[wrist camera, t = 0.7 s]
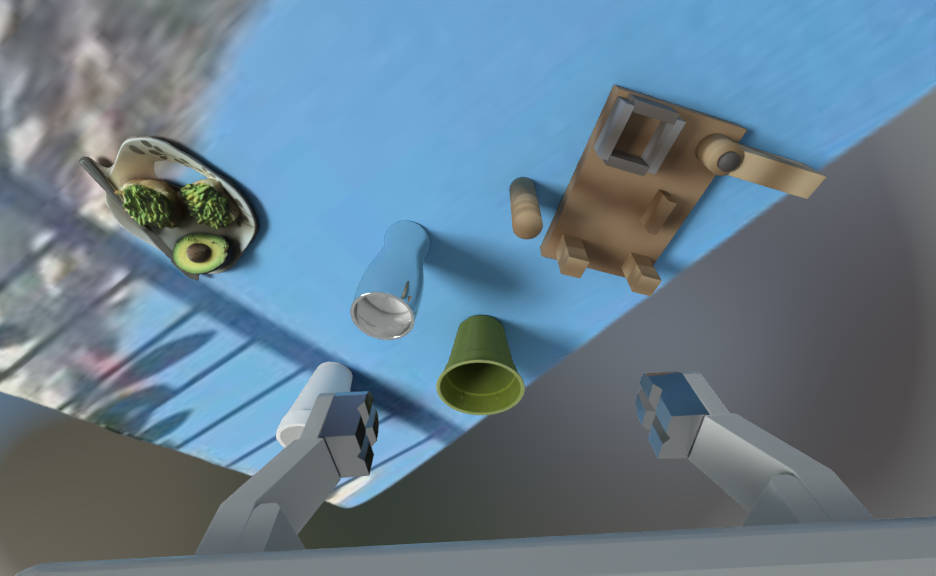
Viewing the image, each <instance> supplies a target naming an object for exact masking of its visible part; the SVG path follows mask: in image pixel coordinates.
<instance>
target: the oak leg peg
mask: <svg viewBox="0 0 936 576" xmlns="http://www.w3.org/2000/svg"><path fill="white" fill-rule="evenodd" d="M510 202H511V214H512V226H513V231H514V233H515V234H516V236H518V237H519V238H522V239H532V238H534V237H536V236H537V235H539V234H540V232H541V230H542V227H543V223H542V218H541V213H540V209H539V204H538V199H537V194H536V190H535V185H534V183H533V181H532V180H531V179H529V178H527V177H519V178H517V179H515V180H514V181H513V182H512V183H511V185H510Z"/></svg>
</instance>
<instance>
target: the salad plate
mask: <svg viewBox="0 0 936 576" xmlns="http://www.w3.org/2000/svg"><path fill="white" fill-rule="evenodd" d="M155 161H170V162H177V163H180V164H183V165H185V166H187V167H190V168H192V169H194V170H195V171H197V172H199V173H201V174H202V175H204V176H206V177H207V178H208V179H202V180H199V181H196V182H193V183H192V184H186V186H185V187H180V186H175V185H172V184H169V183H168V182H167V181H166V180H165V179H162V178H158V177H157V176H156V175H155V173H154V162H155ZM79 163H80V164H81V165H82V167H83V168H84V169H85V170H86V171H87V172H88V173H89V174H90V175H91V176H92V178H94V180H95V181H96V182H97V183H98V184H99V185H100V186H101V187H102V188H103V189H104V190H105V198H106V203H107V205H108V207H109V209H110V211H111V213H112V214H113V216H114V218H115V219H116V221H117V222H118V223H119V224H120V225H121V226H122V227H123V228H124V229H126V230H127V231H129V232H130V233H132V234H133V235H135V236H136V237H138V238H140V239H141V240H143V241H145V242H146V243H148V244H150V245H152V246H154V247H155V248H157V249H159V250H160V251H162V252H164V253H165V254H166V256H167V257H169V258H170V259H171V262H172V263H173V264H174V265H175V266H176V267H177V268H178V269H179V270H180V271H182V272H183V273H184V274H185V275H186V276H188V277H189V278H191V279H195V280H199V275H200V274H206V273H207V274H216V273H221V272H224V271H226V270H228V269H230V268H231V267H232V266H233V265H234V264H235V263H236V262H237V261H238V259H239V258H240V257H241V256H242V254H243V253H244V251H245V250H246V248H247V247H248V246H249V244H250V243H251V242H252V241H253V240H254V239H255V237H256V235H257V233H258V231H259V222H258V219H257V215H256V213H255V210H254V208H253V206H252V204H251V203H250V201H249V200H248V198H247V197H246V196H245V194H244V193H243V192H242V191H241V190H239V188H238V187H237V186H236V185H235V184H234V183H233V182H231V181H230V180H229V179H228V178H226V177H224V176H223V175H220V174H218V173H216V172H215V171H213V170H211V169H210V168H208V167H207V166H206V165H204V164H203V163H202V162H200V161H199V160H197V159H196V158H194V157H192V156H191V155H189V154H187V153H185V152H183V151H181V150H179V149H178V148H176V147H174V146H172V145H171V144H170V143H168V142H166V141H164V140H161V139H157V138H153V137H149V136H138V137H128V138H127V139H126V140H125V141H124V142H123V144H122V146H121V148H120V150H119V153H118V155H117V158H116V161H115V163H114V164H113V165H112V166H111V167H110V168H109V167H104V166H102V165H100V164H98V163H97V162H95V161H94V160H93V159H91V158H89V157H82V158H80V159H79Z"/></svg>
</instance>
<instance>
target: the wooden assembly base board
mask: <svg viewBox="0 0 936 576" xmlns="http://www.w3.org/2000/svg"><path fill="white" fill-rule="evenodd" d="M746 131H747V129H745V128H743V127H742V126H740V125H738V124H736V123H733V122H729V121H726V120H723V119H720V118H717V117H714V116H711V115H708V114H704V113H701V112H698V111H695V110H692V109H689V108H686V107H683V106H680V105H676V104H673V103H670V102H667V101H664V100H661V99H658V98H655V97H652V96H648V95H645V94H642V93H639V92H636V91H633V90H630V89H627V88H623V87H620V86H617V85H614V86H613V88H612V90H611V92H610V94H609V97H608V99H607V101H606V103H605V105H604V108H603V110H602V112H601V114H600V116H599V119H598V121H597V123H596V125H595V128H594V130H593V132H592V134H591V136H590V139H589V141H588V143H587V145H586V147H585V150H584V152H583V154H582V156H581V158H580V161H579V163H578V165H577V167H576V169H575V172H574V174H573V176H572V178H571V181H570V183H569V185H568V187H567V189H566V192H565V194H564V196H563V198H562V200H561V203H560V205H559V207H558V209H557V211H556V214H555V216H554V218H553V220H552V222H551V225H550V227H549V229H548V231H547V234H546V236H545V238H544V240H543V242H542V245H541V247H540V250H541V255H542V256H544V257H547V258H551V259H555V260H558V264H559V268H560V272H561V274H564V275H568V276H572V277H576V278H581V276H582V274H583V272H584V271H585V269H586V268H590V269H594V270H598V271H602V272H606V273H610V274H614V275H618V276H622V277H625V278H626V279H627V282H628V284H629V286H630V288H631V290H632V292H636V293H640V294H644V295H648V296H651V295H652V293H653V292H654V291H655V289H656V288H657V287H658V285H659V284H660V283H661V281H662V280H661V279H660V277H659V275H658V273H657V272H656V270H655V268H654V266H653V265H654V264H655V262H656V261H657V259H658V258H659V256H660V255H661V253H662V252H663V251H664V249H665V248H666V246H667V245H668V243H669V242H670V240H671V239H672V238H673V236H674V235H675V233H676V232H677V230H678V229H679V227H680V226H681V225H682V223H683V222H684V220H685V219H686V217H687V216H688V214H689V213H690V212H691V210H692V209H693V207H694V206H695V204H696V203H697V201H698V200H699V199H700V197H701V196H702V194H703V193H704V191H705V190H706V188H707V187H708V186H709V184H710V183H711V181H712V180H713V178H714V177H715V176H716V175H715V174H714V173H713V172H711V171H710V170H709V169H708V168H707V167H706V166H704V165H703V164H702V163H701V162H700V161H699V160H698V159H697V158H696V156H695V150H696V147H697V145H698V144H699V142H700V141H701V140H702V139H703V138H704V137H706V136H708V135H710V134H714V133H719V134H722V135H724V136H725V137H727V138H728V139H730V140H731V141H733V142H737V143H738V142H739V141H740V139H741V138H742V137H743V135H744V134H745V132H746Z"/></svg>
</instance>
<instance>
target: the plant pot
mask: <svg viewBox="0 0 936 576" xmlns="http://www.w3.org/2000/svg"><path fill="white" fill-rule="evenodd" d="M436 389H437V393H438V395H439V397H440V398H441V400H442V401H443V402H444V403H445V404H446V405H448V406H449V407H451V408H453V409H455V410H457V411H460V412H463V413H467V414H473V415H490V414H496V413H500V412H503V411H506V410H508V409H510V408H512V407H513V406H514V405H516V404H517V403H518V402H519V401H520V400H521V398H522V397H523V395H524V391H525V386H524V382H523V379H522V378H521V376H520V375H519V374H518V373H517V369H516V367H515V365H514V364H513V360H512V357H511V353H510V349H509V346H508V342H507V339H506V335H505V332H504V328H503V326H502V324H500V323H499V322H498V321H497V320H496V319H495V318H493V317H490V316H486V315H476V316H472V317H469V318H468V319H467V320H465V321H463V322H462V323H461V324H460V326H459V328H458V332H457V335H456V338H455V342H454V345H453V348H452V351H451V355H450V358H449V361H448V363H447V365H446V367H445V370H444V371H443V373H442V374H441V375H440V376H439V378H438V381H437V385H436Z"/></svg>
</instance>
